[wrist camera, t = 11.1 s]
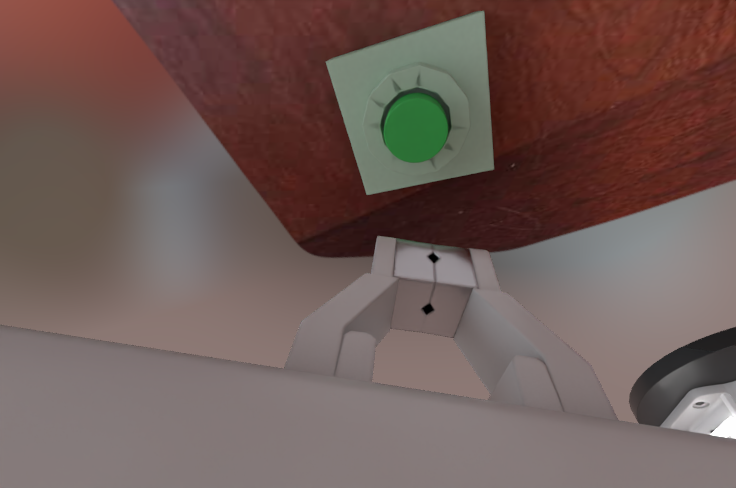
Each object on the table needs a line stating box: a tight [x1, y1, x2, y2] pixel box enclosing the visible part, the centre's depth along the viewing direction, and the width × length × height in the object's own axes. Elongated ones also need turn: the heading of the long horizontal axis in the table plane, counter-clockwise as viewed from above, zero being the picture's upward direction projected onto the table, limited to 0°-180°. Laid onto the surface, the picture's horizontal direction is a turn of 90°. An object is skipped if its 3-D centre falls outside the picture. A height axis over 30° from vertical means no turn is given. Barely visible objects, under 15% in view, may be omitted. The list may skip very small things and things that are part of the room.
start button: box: [384, 93, 448, 163], centre depth 21 cm, size 4×4×2 cm
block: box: [326, 11, 494, 195], centre depth 23 cm, size 10×10×4 cm
